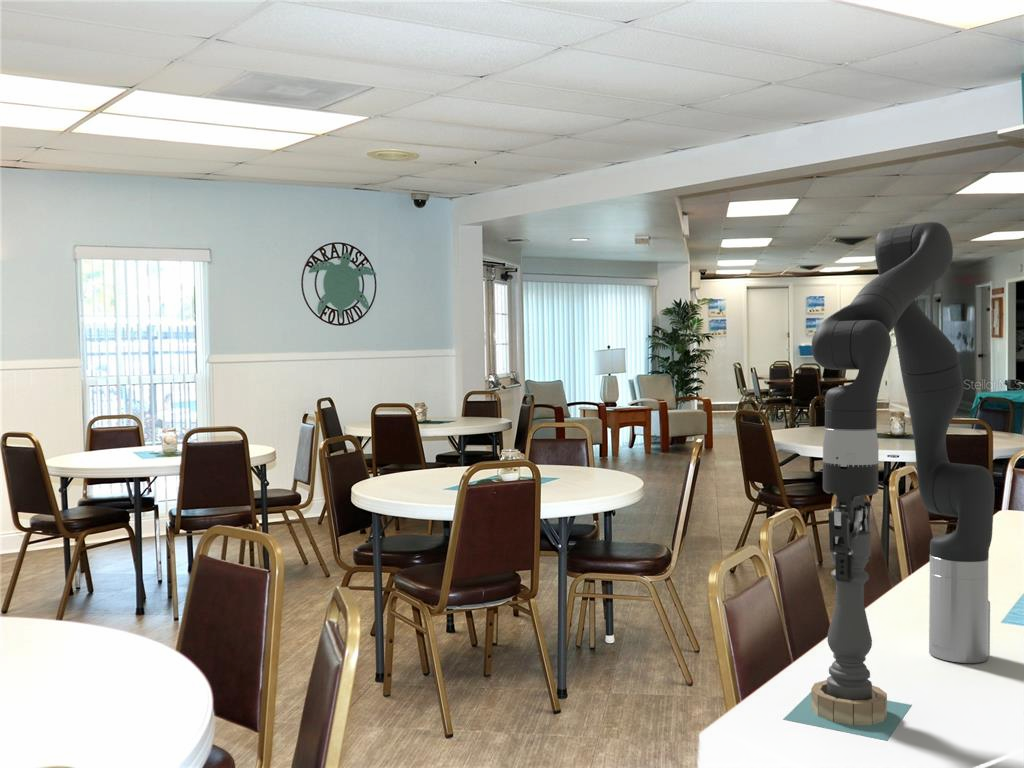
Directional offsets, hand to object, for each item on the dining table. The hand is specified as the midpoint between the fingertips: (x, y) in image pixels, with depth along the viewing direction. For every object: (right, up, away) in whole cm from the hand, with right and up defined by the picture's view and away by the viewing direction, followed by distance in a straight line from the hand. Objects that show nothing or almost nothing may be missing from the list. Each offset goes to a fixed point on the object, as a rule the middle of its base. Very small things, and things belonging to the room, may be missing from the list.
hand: (849, 576), depth 138 cm
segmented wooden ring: (0, -20, 0) cm, 20 cm away
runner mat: (0, -20, 0) cm, 20 cm away
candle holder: (0, -19, +1) cm, 19 cm away
